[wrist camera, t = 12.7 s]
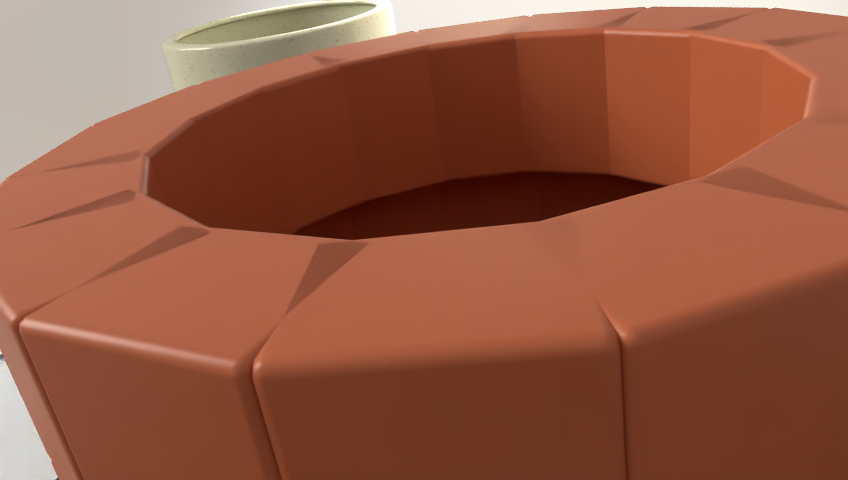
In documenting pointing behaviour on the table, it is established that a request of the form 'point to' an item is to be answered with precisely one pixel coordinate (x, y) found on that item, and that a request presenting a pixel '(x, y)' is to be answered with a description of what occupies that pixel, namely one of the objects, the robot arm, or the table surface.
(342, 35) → the planter
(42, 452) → the table surface
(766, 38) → the canister
